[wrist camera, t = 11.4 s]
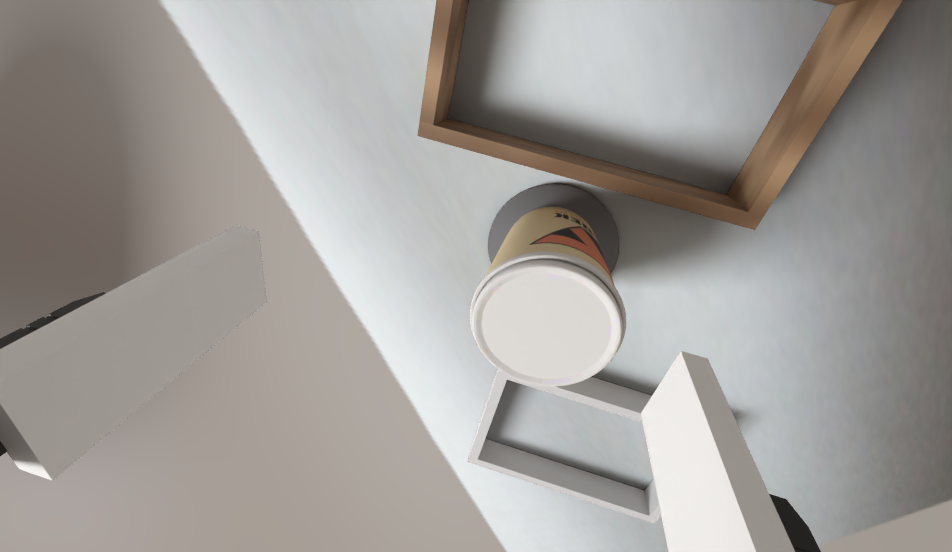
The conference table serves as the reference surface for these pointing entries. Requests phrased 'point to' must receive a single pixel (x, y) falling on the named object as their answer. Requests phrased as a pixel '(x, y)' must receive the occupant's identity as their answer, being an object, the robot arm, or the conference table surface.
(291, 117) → the conference table surface
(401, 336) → the conference table surface
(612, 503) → the gray rectangular frame
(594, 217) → the coaster
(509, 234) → the coffee cup
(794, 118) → the frame
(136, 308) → the robot arm
